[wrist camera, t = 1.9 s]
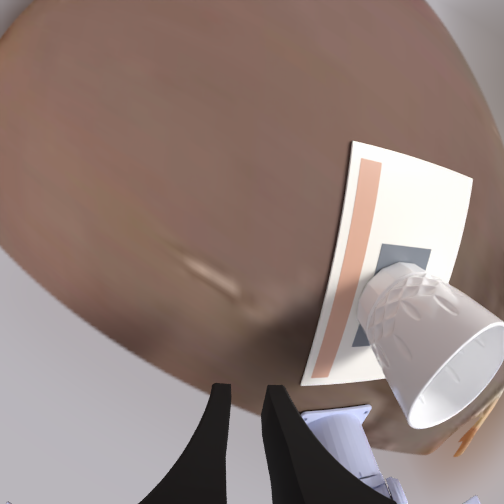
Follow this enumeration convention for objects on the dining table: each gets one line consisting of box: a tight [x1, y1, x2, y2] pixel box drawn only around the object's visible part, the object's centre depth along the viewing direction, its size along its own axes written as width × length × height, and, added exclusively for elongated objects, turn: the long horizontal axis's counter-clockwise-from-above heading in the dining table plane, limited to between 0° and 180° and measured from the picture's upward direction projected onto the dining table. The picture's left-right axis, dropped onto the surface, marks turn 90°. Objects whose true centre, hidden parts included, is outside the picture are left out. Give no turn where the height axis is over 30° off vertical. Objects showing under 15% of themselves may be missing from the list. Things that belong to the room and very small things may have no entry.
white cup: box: [357, 262, 504, 429], centre depth 15 cm, size 8×8×10 cm
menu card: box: [300, 141, 473, 386], centre depth 20 cm, size 20×12×1 cm, turn 174°
